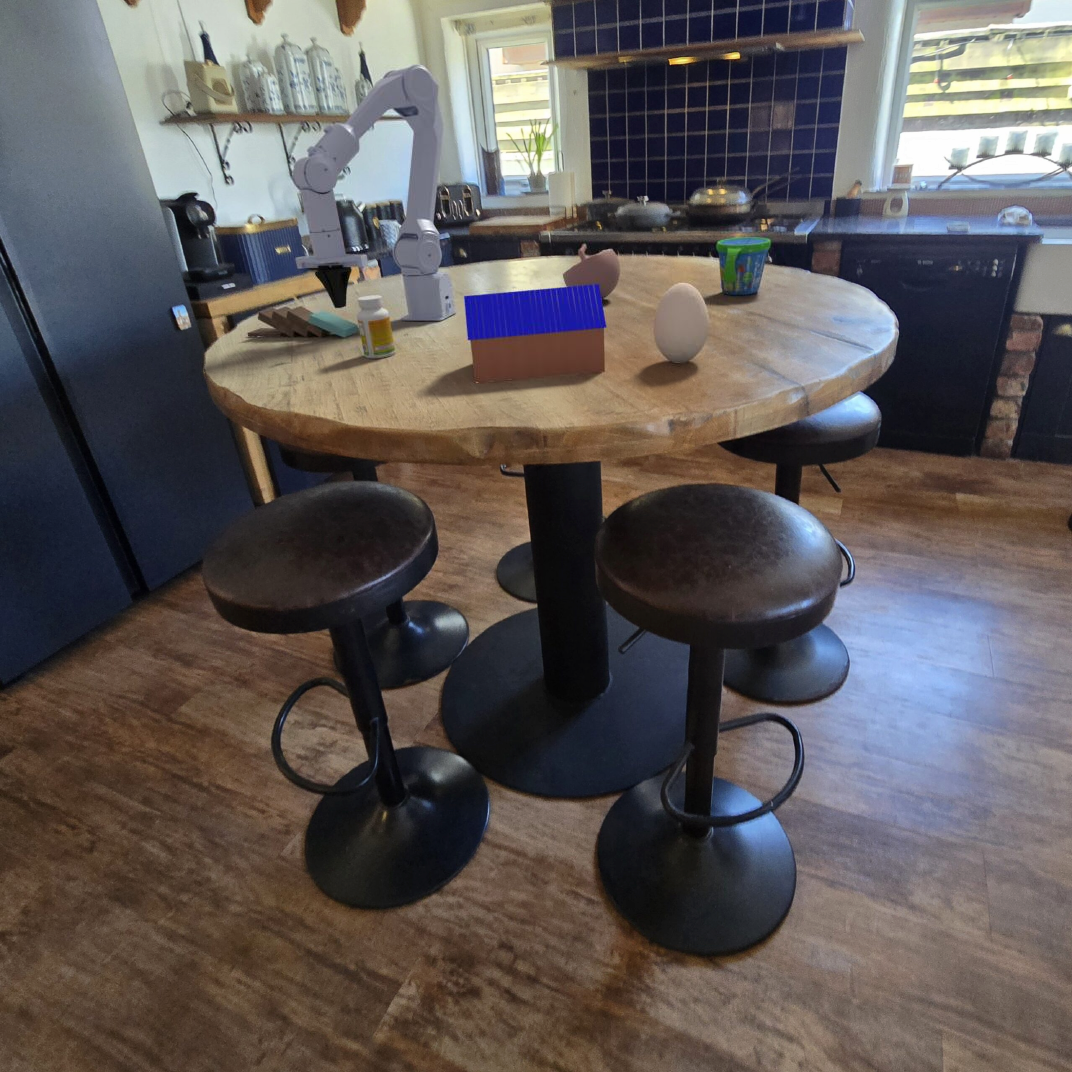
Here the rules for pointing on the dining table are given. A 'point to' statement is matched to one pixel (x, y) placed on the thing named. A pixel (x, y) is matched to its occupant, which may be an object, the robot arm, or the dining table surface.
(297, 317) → the tile
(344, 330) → the teal tile
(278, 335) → the tile
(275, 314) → the tile
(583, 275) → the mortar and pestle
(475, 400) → the dining table surface
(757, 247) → the snack cup
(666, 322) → the egg
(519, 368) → the house
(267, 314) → the tile
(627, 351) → the dining table surface
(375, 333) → the supplement bottle
